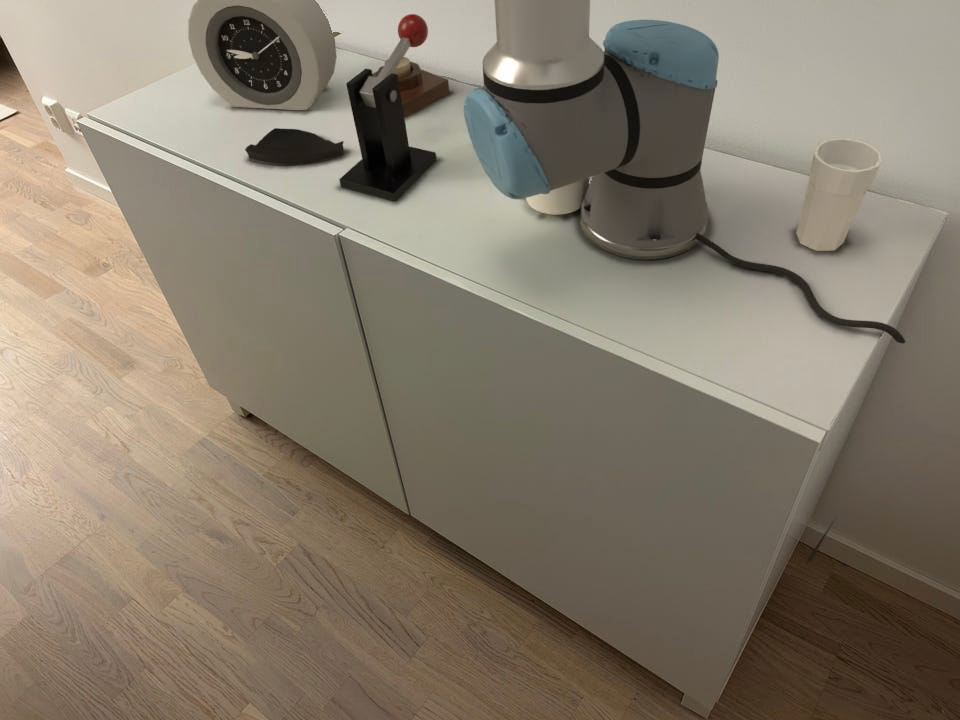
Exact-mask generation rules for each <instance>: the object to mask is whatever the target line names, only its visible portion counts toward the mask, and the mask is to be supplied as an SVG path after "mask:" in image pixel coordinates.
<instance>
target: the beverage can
mask: <svg viewBox="0 0 960 720" xmlns="http://www.w3.org/2000/svg"><path fill="white" fill-rule="evenodd" d="M589 185H590V177H589V178H586V179H584V180H581V181H578V182H575V183H572V184H569V185H566V186H563V187H560V188H557V189H554V190H551V191H550V193H548V194H538V195H535V196H531V197H528V198H525V201H526V203H527V204H528V205H529V206H530V207H531V208H532V209H533V210H534V211H537V212H539V213H543V214H547V215H554V216H556V215H557V216H558V215H566V214H571V213H573V212H576V211H578V210H580V209H581V205H582V202H583V199H584V196H585V194H586V192H587V189H588V187H589Z"/></svg>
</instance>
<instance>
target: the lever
mask: <svg viewBox="0 0 960 720" xmlns="http://www.w3.org/2000/svg"><path fill="white" fill-rule="evenodd" d="M428 27H429V26H428V24H427V22H426V20H425V19H424V18H423V17H421V16H420V15H418V14H416V13H410V14H407V15H404V16H403V17H402V18H401V19H400V21H399V23H398V26H397V34H398V38H399V42H398V43H397V44H396V46H395V48H394V49H393V51H392V52H391V54H390V55H389V57H388V59H386V61H387V62H386V61H385V62H386V64H385V63H384V65H383V66H384V67H383V68H382V70H381V72H380V73H379V75H378V76H377V77H372V76H369V77H368V79H367V80H366V82H365V83H364V85H363V86H362V88H361V90H360V91H359V93H360V95H361V97H362V99H363V101H364V103H365V105H366V106H370V107H375V108H376V106H375V101H374V95H373V90H372V88H373V87H375V86H376V85H377V84H379V83H380V82H381V81H382V80H384V79H385V78H386V77H387V76H389V75H390V74H391V73H392V74H393V73H394V71H395V70H396V68H397V66H398V65H399V63H400V62H401V60H402V58H403V57H405V55H406V54H407V52H408V50H409V49H410V48H417V47H419V46H422V45H423V44H424V43H425V42H426V40H427V38H428V35H429V28H428Z"/></svg>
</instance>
